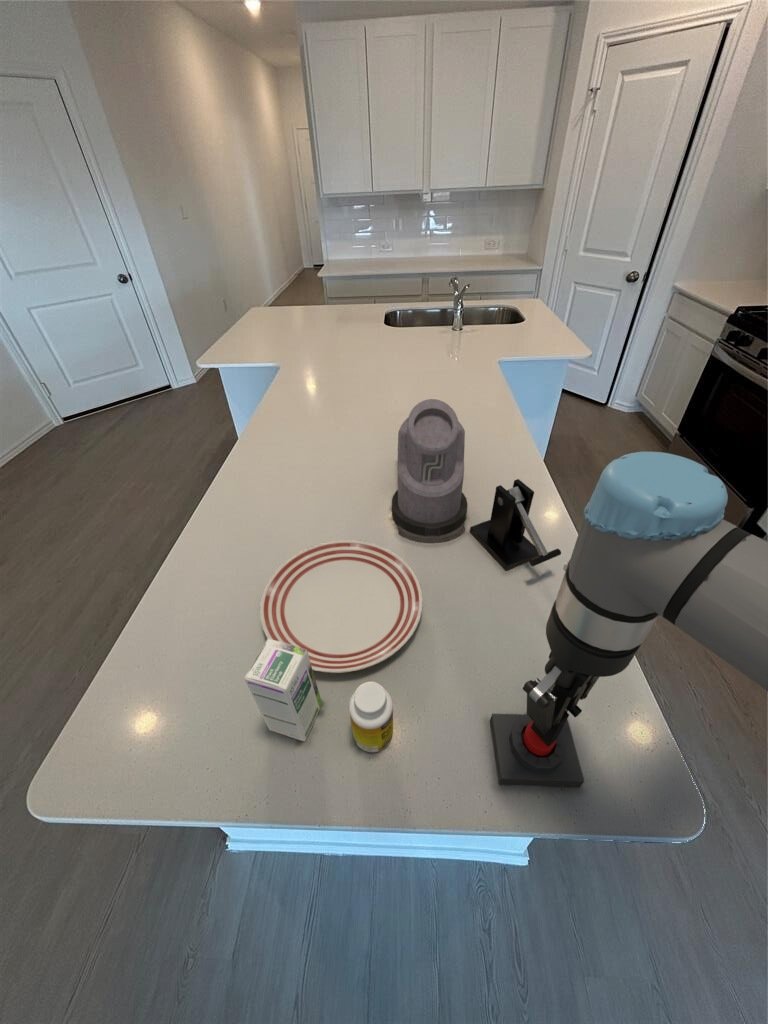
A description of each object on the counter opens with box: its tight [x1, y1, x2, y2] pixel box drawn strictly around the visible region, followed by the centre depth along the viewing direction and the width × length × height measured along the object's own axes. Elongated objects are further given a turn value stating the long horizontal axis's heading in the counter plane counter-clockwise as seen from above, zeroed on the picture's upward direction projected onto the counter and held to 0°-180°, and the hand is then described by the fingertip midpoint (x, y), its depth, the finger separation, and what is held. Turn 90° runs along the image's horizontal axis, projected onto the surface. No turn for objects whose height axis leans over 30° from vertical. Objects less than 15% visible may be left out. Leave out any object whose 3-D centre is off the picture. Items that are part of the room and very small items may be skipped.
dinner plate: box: [259, 539, 424, 674], centre depth 75 cm, size 28×27×3 cm
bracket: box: [469, 478, 540, 572], centre depth 83 cm, size 12×8×14 cm, turn 26°
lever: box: [506, 486, 562, 567], centre depth 78 cm, size 14×6×2 cm
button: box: [523, 721, 556, 756], centre depth 55 cm, size 4×4×2 cm
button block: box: [489, 713, 585, 789], centre depth 57 cm, size 10×8×4 cm
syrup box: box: [243, 638, 323, 743], centre depth 58 cm, size 6×6×14 cm
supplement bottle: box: [348, 681, 394, 753], centre depth 57 cm, size 6×6×10 cm
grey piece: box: [391, 398, 468, 544], centre depth 91 cm, size 30×16×24 cm, turn 0°
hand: (543, 733), depth 54 cm, fingers closed
